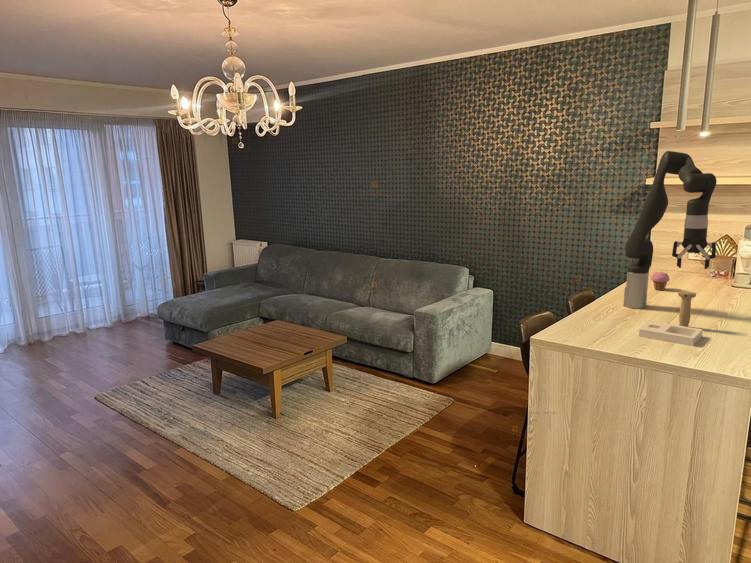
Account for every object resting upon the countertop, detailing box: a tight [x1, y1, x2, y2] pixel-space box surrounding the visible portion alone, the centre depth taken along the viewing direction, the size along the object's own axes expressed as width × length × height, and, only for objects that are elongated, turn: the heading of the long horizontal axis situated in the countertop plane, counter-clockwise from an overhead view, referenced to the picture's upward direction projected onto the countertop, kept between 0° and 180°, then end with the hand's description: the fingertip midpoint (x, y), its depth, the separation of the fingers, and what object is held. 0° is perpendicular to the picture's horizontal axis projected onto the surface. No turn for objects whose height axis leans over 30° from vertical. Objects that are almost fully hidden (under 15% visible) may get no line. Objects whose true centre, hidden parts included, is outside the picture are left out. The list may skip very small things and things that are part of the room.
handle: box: [677, 290, 697, 327], centre depth 210 cm, size 5×6×15 cm
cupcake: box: [650, 271, 670, 291], centre depth 274 cm, size 9×9×10 cm
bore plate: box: [638, 320, 703, 347], centre depth 201 cm, size 19×14×3 cm
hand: (692, 268), depth 195 cm, fingers open, 8 cm apart
